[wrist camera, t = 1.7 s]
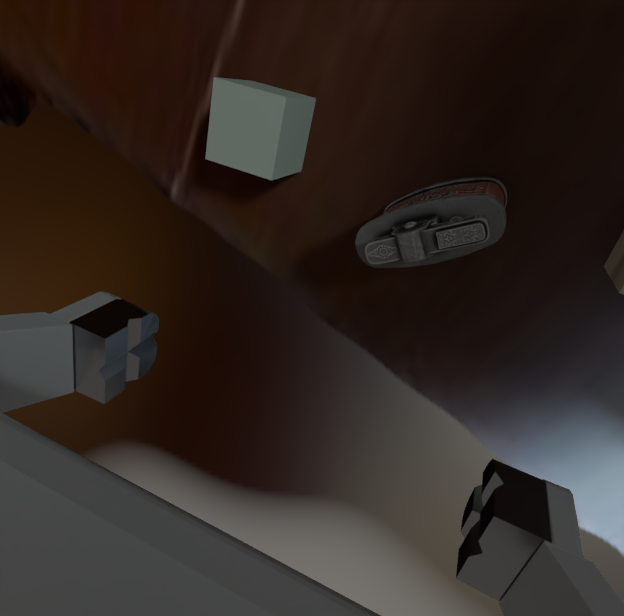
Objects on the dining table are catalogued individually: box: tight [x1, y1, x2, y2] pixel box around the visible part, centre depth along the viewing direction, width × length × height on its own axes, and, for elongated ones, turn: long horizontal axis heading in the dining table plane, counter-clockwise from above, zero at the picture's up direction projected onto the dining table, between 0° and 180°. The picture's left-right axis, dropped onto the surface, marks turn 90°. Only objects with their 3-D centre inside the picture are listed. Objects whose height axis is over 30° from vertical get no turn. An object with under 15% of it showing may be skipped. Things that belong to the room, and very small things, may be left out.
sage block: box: [205, 77, 316, 180], centre depth 31 cm, size 5×5×5 cm
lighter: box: [355, 176, 507, 268], centre depth 27 cm, size 8×3×10 cm, turn 109°
